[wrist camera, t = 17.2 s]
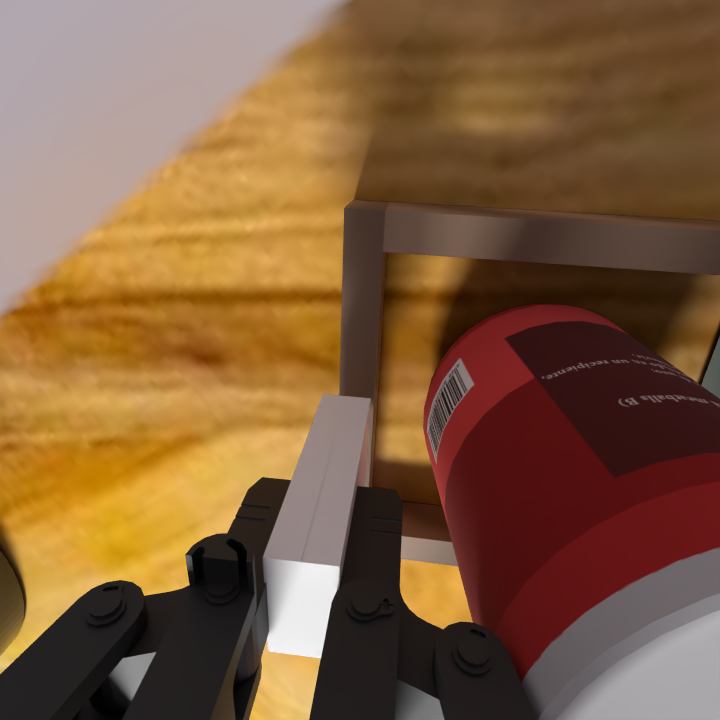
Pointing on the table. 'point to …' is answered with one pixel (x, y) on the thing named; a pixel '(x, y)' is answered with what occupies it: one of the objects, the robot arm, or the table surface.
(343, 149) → the table surface
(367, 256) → the brown open rectangular frame
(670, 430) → the canned food
